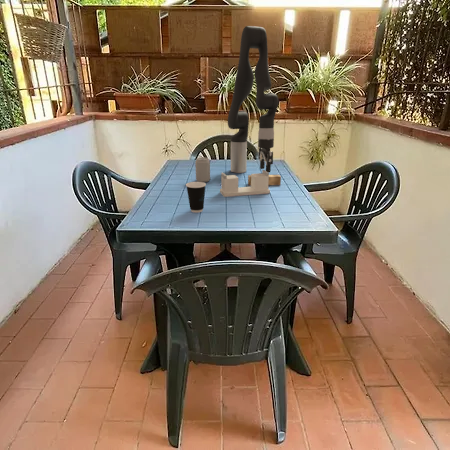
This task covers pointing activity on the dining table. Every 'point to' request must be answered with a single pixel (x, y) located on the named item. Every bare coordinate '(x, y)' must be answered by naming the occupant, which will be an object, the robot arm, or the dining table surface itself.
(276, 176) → the bar
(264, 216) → the dining table surface
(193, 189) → the dixie cup
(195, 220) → the dining table surface
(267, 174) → the display stand
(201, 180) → the can
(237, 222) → the dining table surface
